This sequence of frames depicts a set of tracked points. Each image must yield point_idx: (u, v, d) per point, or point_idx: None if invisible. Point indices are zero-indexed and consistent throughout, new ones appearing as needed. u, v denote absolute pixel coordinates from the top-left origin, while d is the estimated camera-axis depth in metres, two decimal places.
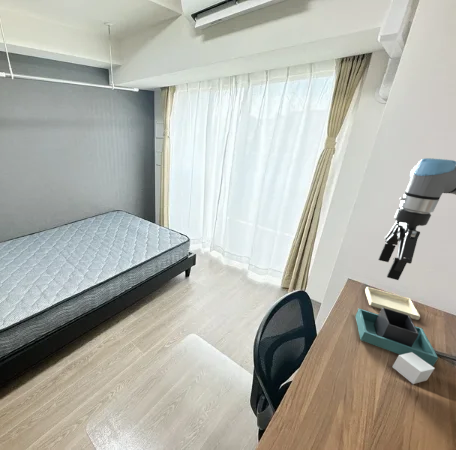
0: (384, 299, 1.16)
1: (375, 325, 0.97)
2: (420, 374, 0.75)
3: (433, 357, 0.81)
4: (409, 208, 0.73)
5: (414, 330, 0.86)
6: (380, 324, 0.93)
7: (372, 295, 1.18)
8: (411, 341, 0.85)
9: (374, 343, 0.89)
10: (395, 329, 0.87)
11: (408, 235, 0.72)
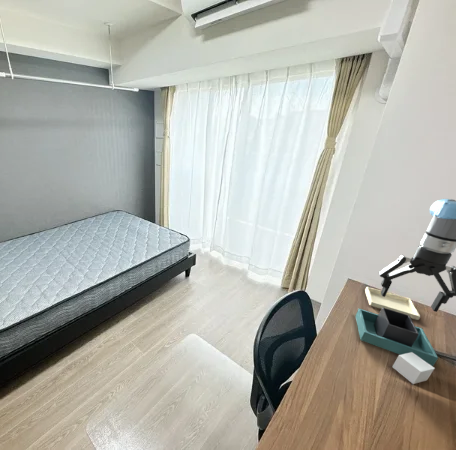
0: (384, 299, 1.16)
1: (375, 325, 0.97)
2: (420, 374, 0.75)
3: (433, 357, 0.81)
4: (452, 251, 0.75)
5: (414, 330, 0.86)
6: (380, 324, 0.93)
7: (372, 295, 1.18)
8: (411, 341, 0.85)
9: (374, 343, 0.89)
10: (395, 329, 0.87)
11: None
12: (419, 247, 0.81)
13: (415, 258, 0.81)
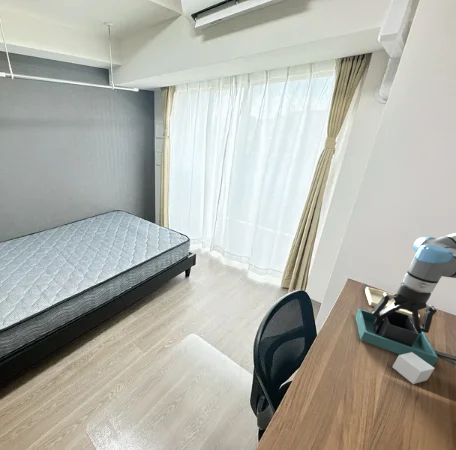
0: None
1: (375, 325, 0.97)
2: (420, 374, 0.75)
3: (433, 357, 0.81)
4: (431, 291, 0.81)
5: (414, 330, 0.86)
6: None
7: (372, 295, 1.18)
8: (411, 341, 0.85)
9: (374, 343, 0.89)
10: (395, 329, 0.87)
11: None
12: (401, 285, 0.86)
13: (398, 295, 0.87)
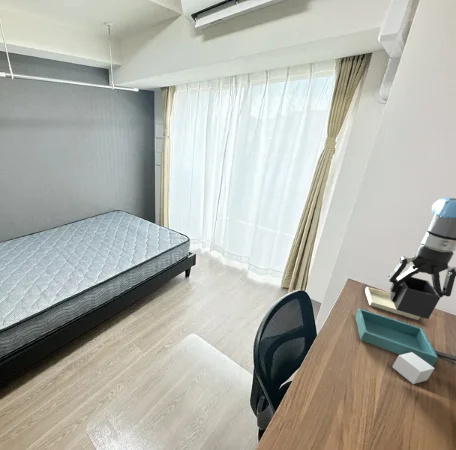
0: (384, 299, 1.16)
1: (391, 293, 0.92)
2: (420, 374, 0.75)
3: (433, 357, 0.81)
4: (454, 250, 0.76)
5: (435, 294, 0.80)
6: None
7: (372, 295, 1.18)
8: (432, 305, 0.80)
9: (374, 343, 0.89)
10: (415, 294, 0.81)
11: None
12: (421, 246, 0.81)
13: (417, 257, 0.82)
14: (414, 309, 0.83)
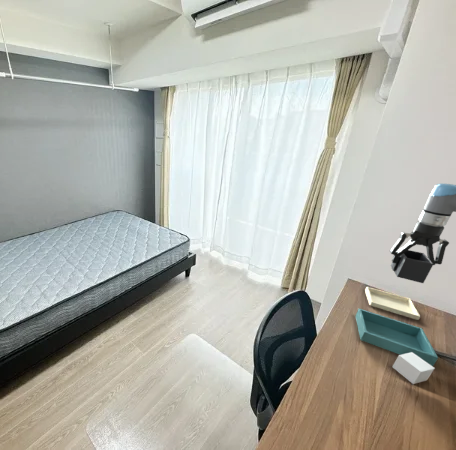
0: (384, 299, 1.16)
1: None
2: (420, 374, 0.75)
3: (433, 357, 0.81)
4: (445, 224, 0.92)
5: (429, 262, 0.97)
6: None
7: (372, 295, 1.18)
8: (426, 271, 0.96)
9: (374, 343, 0.89)
10: (412, 262, 0.98)
11: None
12: (417, 222, 0.97)
13: (414, 232, 0.98)
14: (411, 275, 0.99)
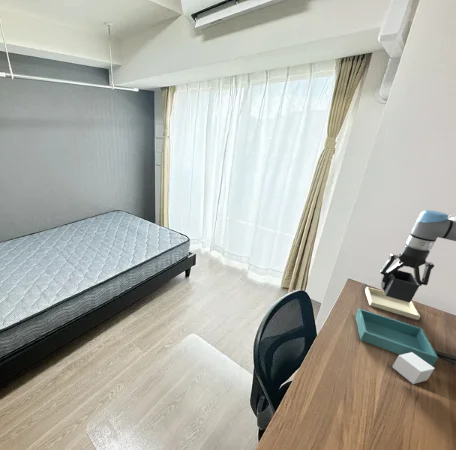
0: (384, 299, 1.16)
1: (382, 283, 1.15)
2: (420, 374, 0.75)
3: (433, 357, 0.81)
4: (430, 249, 0.98)
5: (415, 283, 1.03)
6: None
7: (372, 295, 1.18)
8: (413, 292, 1.02)
9: (374, 343, 0.89)
10: (400, 283, 1.04)
11: None
12: (405, 245, 1.03)
13: (402, 254, 1.04)
14: (399, 295, 1.05)
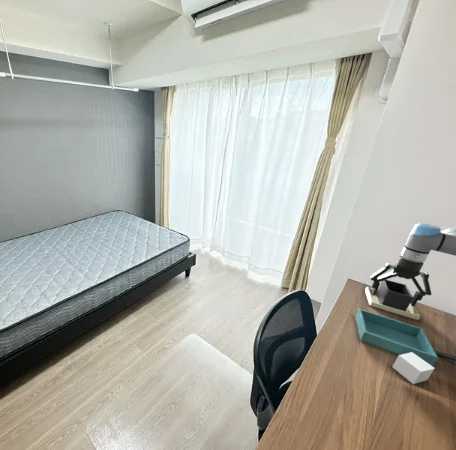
0: None
1: (377, 294, 1.17)
2: (420, 374, 0.75)
3: (433, 357, 0.81)
4: (424, 261, 1.00)
5: (409, 295, 1.05)
6: (381, 292, 1.13)
7: (372, 295, 1.18)
8: (407, 303, 1.05)
9: (374, 343, 0.89)
10: (394, 294, 1.06)
11: None
12: (400, 257, 1.06)
13: (397, 266, 1.06)
14: (394, 306, 1.07)
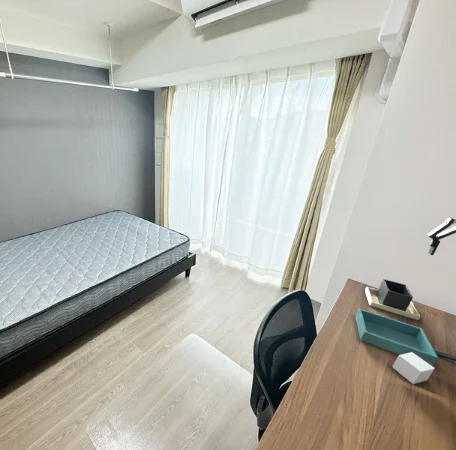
0: None
1: (377, 294, 1.17)
2: (420, 374, 0.75)
3: (433, 357, 0.81)
4: None
5: (409, 295, 1.05)
6: (381, 292, 1.13)
7: (372, 295, 1.18)
8: (407, 303, 1.05)
9: (374, 343, 0.89)
10: (394, 294, 1.06)
11: None
12: None
13: None
14: (394, 306, 1.07)
